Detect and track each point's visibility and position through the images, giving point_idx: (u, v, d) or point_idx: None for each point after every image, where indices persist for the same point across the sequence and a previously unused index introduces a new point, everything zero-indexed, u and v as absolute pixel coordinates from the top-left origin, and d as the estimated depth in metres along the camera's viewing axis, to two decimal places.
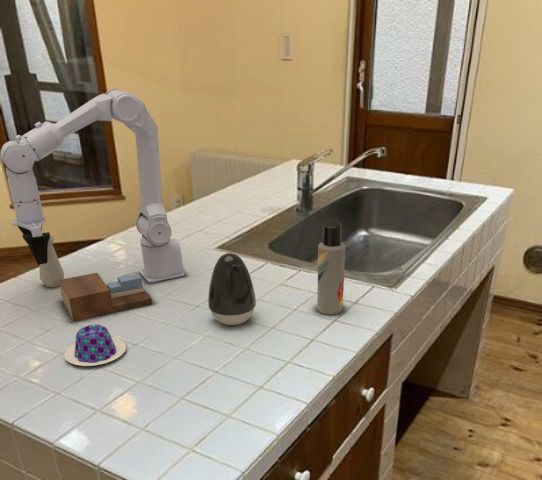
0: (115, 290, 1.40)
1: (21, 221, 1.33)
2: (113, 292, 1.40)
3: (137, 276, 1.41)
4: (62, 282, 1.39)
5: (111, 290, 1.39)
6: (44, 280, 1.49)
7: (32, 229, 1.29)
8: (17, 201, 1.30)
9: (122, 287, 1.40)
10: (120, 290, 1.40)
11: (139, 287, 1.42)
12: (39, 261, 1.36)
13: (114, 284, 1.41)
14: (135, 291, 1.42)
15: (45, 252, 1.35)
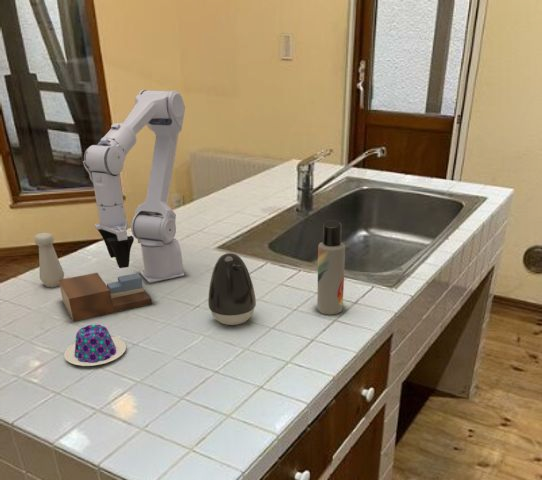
0: (115, 290, 1.40)
1: (105, 224, 1.32)
2: (113, 292, 1.40)
3: (137, 276, 1.41)
4: (62, 282, 1.39)
5: (111, 290, 1.39)
6: (44, 280, 1.49)
7: (118, 233, 1.29)
8: (111, 204, 1.30)
9: (122, 287, 1.40)
10: (120, 290, 1.40)
11: (139, 287, 1.42)
12: (121, 265, 1.35)
13: (114, 284, 1.41)
14: (135, 291, 1.42)
15: (127, 256, 1.35)
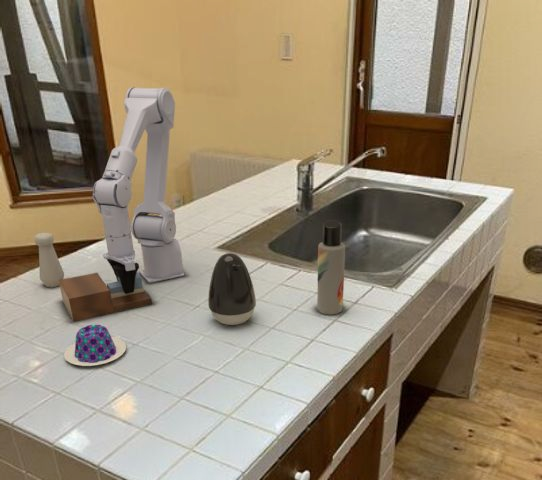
0: (115, 290, 1.40)
1: (113, 255, 1.36)
2: (113, 292, 1.40)
3: (137, 277, 1.41)
4: (62, 282, 1.39)
5: (111, 290, 1.39)
6: (44, 280, 1.49)
7: (126, 263, 1.32)
8: (120, 235, 1.33)
9: None
10: (120, 290, 1.40)
11: (139, 287, 1.42)
12: (126, 290, 1.40)
13: (114, 284, 1.41)
14: (135, 291, 1.42)
15: (133, 282, 1.40)
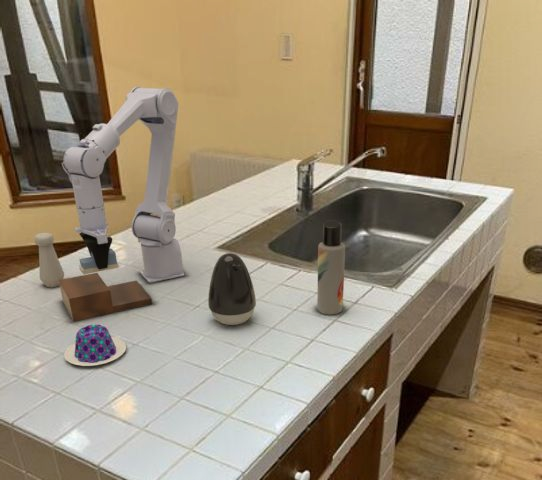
0: (88, 265, 1.34)
1: (85, 228, 1.30)
2: (86, 267, 1.34)
3: (111, 252, 1.36)
4: (62, 282, 1.39)
5: (84, 265, 1.34)
6: (44, 280, 1.49)
7: (98, 236, 1.27)
8: (89, 207, 1.28)
9: None
10: (93, 265, 1.35)
11: (114, 263, 1.36)
12: (100, 266, 1.35)
13: (87, 260, 1.35)
14: (109, 267, 1.36)
15: (106, 257, 1.34)
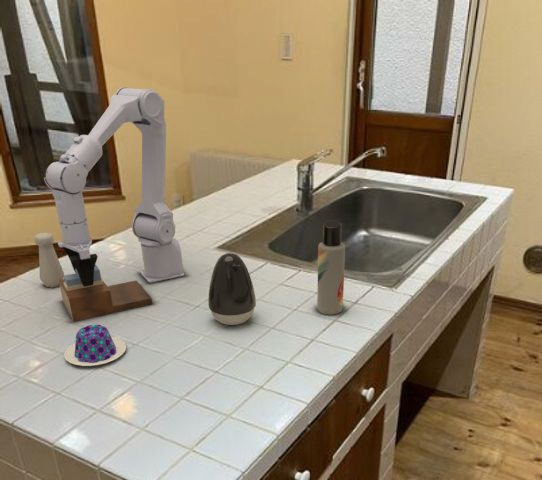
0: (72, 282, 1.34)
1: (68, 242, 1.30)
2: (70, 284, 1.34)
3: (96, 268, 1.36)
4: (62, 282, 1.39)
5: (67, 282, 1.34)
6: (44, 280, 1.49)
7: (80, 251, 1.26)
8: (71, 222, 1.27)
9: (79, 279, 1.35)
10: (77, 282, 1.35)
11: (98, 280, 1.37)
12: (85, 283, 1.33)
13: (71, 276, 1.35)
14: (93, 283, 1.36)
15: (91, 274, 1.32)
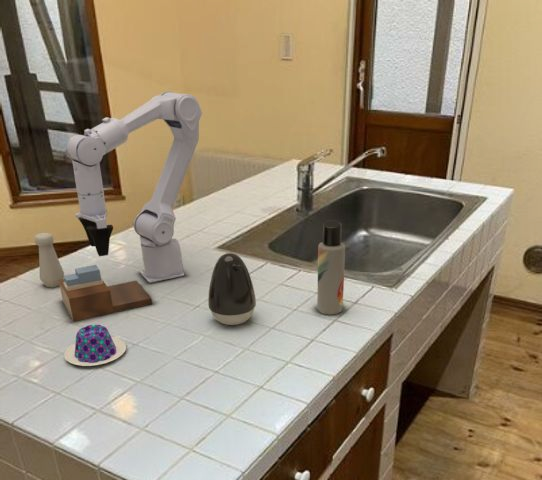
0: (72, 282, 1.34)
1: (85, 213, 1.36)
2: (70, 284, 1.34)
3: (96, 268, 1.36)
4: (62, 282, 1.39)
5: (67, 282, 1.34)
6: (44, 280, 1.49)
7: (97, 221, 1.32)
8: (85, 193, 1.33)
9: (79, 279, 1.35)
10: (77, 282, 1.35)
11: (98, 280, 1.37)
12: (100, 253, 1.39)
13: (71, 276, 1.35)
14: (93, 283, 1.36)
15: (107, 244, 1.38)
